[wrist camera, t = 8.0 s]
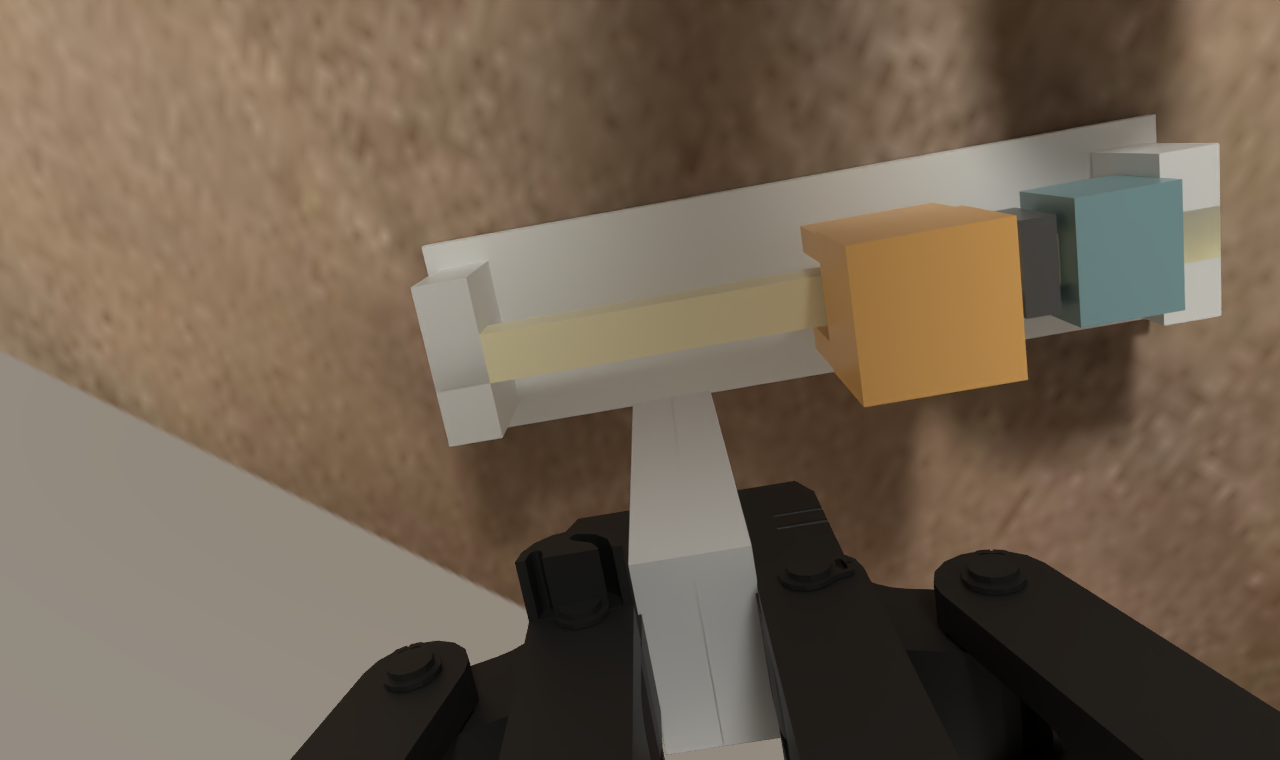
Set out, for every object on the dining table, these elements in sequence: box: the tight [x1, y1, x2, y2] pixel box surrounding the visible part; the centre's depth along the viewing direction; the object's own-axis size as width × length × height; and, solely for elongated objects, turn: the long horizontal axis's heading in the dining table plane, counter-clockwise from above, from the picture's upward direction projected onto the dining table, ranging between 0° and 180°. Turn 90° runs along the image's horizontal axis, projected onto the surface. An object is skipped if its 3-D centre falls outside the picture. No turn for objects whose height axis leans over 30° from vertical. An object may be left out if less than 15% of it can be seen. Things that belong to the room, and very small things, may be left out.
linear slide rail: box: [411, 114, 1221, 447], centre depth 34 cm, size 8×29×7 cm, turn 100°
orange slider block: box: [800, 202, 1028, 407], centre depth 30 cm, size 5×5×8 cm
